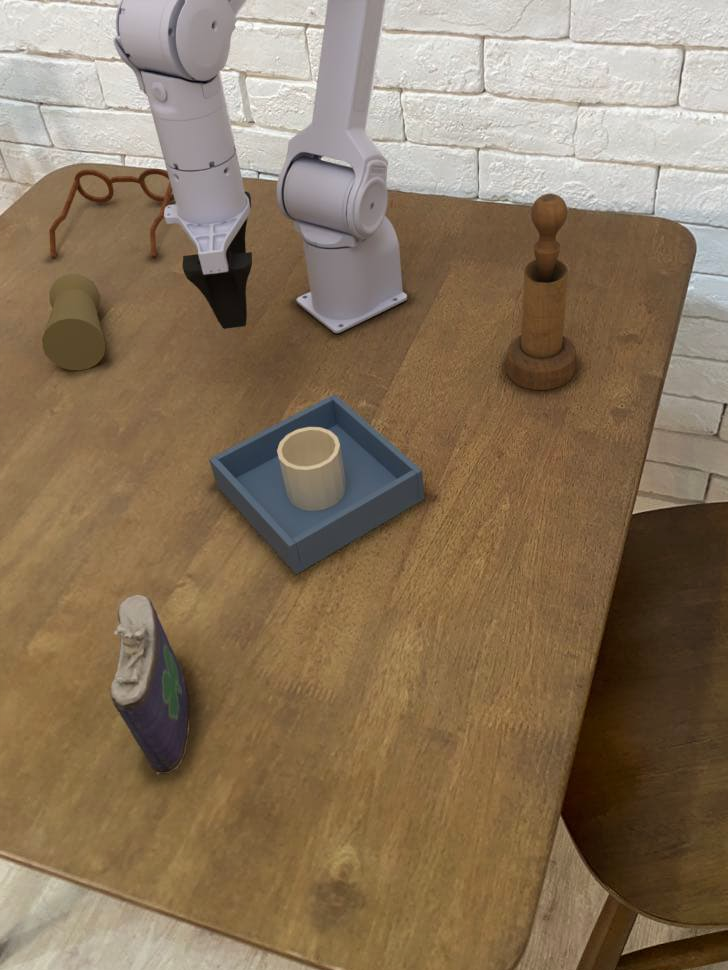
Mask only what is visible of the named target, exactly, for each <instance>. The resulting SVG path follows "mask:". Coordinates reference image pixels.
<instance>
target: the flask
mask: <svg viewBox="0 0 728 970" xmlns="http://www.w3.org/2000/svg"><path fill="white" fill-rule="evenodd" d="M117 618H118V625H117V627H116V629H115V630H114V631H113V634H114V635H115V636H117V635H119V634H120V637H119V642H120V643H119V653H118V662H117V667H116V672H115V674H114V678H113V680H112V681H111V683H110V684H111V685H110V691H109V694H110V698H111V700H112V703H113V705H114V707H115V708H116V711H117V712H118V713H119V715H120V718H122V720H123V721H124V723H125V725H126V727H127V728H128V729H129V730H130V733H131V735H132V737H133V738H134V740H135V742H136V744H137V745H138V746H139V748H140V749H141V751H142V753H143V754H144V757H145V758H146V759H147V761H148V764H149V767H150V768H151V769H152V770H153V771H154V772H156V775H157V776H158V775H160V774H169V773H172V772H173V771H176V770H177V769H178V768H179V766H180V765H181V764H182V762H183V758H184V756H185V754H186V751H187V743H188V739H189V731H190V725H191V724H190V717H191V716H190V715H191V714H190V711H189V700H188V697H189V696H188V688H187V684H186V678H185V675H184V671H183V668H182V666H181V665H180V663H179V661H178V659H177V656H176V654H175V651H174V649H173V648H172V646H171V644H170V641H169V638H168V636H167V635H166V632H165V629H164V627H163V624H162V623H161V621H160V618H159V616H158V613H157V611H156V609H155V607H154V603H153V602H152V600H151V599H150V598H149V597H148V596H146V595H141V594H133V595H131V596H128V597H126V598H125V599H124V600H122V601H120V604H119V606H118V610H117Z"/></svg>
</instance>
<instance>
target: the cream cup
mask: <svg viewBox="0 0 728 970" xmlns="http://www.w3.org/2000/svg"><path fill="white" fill-rule="evenodd" d="M277 453H278V458H279V462H280V466H281V471H282V475H283V480H284V484H285V488H286V493H287V497H288V499H289V501H290V502H291V503H292V504H293V505H294V506H295V507H297V508H299V509H302V510H306V511H320V510H324V509H327V508H330V507H332V506H334V505H335V504H337V503H338V502H339V501H340V500H341V499H342V498H343V496H344V494H345V491H346V479H345V473H344V467H343V460H342V454H341V448H340V443H339V440H338V437H337V436H336V435H335V434H334V433H332V432H331V431H329V430H327V429H324V428H321V427H306V428H301V429H297V430H295V431H293V432H291V433H289V434H287V435H286V436H285V437H284V438H283V439H282V440H281V441H280V443H279V446H278V449H277Z"/></svg>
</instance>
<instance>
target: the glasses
mask: <svg viewBox="0 0 728 970" xmlns="http://www.w3.org/2000/svg"><path fill="white" fill-rule="evenodd" d="M151 175H159V176H163V177H165V178H166V179H167V180H169V176H168V172H167V170H165V169H161V168H148V169H145V170H144V171H142V172H141V173H140V174H139V177H136V176H133V175H132V176H131V175H120V176H119V175H118V176H117V175H116V176H112V177H111V178H110V177H109V176H108V175H107V174H105V173H103V172H101V171H98V170H97V169H96V170H95V169H89V168H88V169H82V170H79V171H77V173H76V174H75V177H74V180H73V182H72V186H71V189H70V190H69V193H68V196H67V199H66V201H65V204H64V206H63V208H62V211H61V214H60V215H59V216H58V217H56V219H55V220H54V221H53V223H52V225H51V226H50V228H49V230H48V231H49V249H50V250H49V251H50V253H49V254H50V257H51V258H52V259H53V258H57V243H56V242H57V241H56V240H57V239H56V231H57V229H58V227H60V225H61V223H62V222H64V221H65V220H66V219H67V216H68V214H69V212H70V208H71V207H72V204H73V201H74V198H75V195H76V193H77V192H78V193H79V194H80V195H81V196H82V197H84V198H85V199H86V200H88V201H90V202H93V203H107V202H110V201H111V200H112V199H113V197H114V195H115V192H114V191H115V189H114V186H113V184H115V183H136V184H139V185H140V187H141V189H142V191H143V193H144V194H145V195H146V196H147V197H148V198H150V199H151V200H153V201H156V202H161V203H162V204H161V208H160V211H159V214H158V215H157V216H156V218H154V220H153V222H152V225H151V226H150V229H149V235H150V236H149V237H150V255H151V258H157V244H156V243H157V241H156V239H157V237H156V231H157V229H158V227H159V225H160V223H161V222H162V221H163V220H164V219H165V217H164V210H165V207H166V206H168V205H169V203H170V202H172V201H175V199H174V195H173V191H172V187H171V183H170V181H169V182H168V185H167V188H166V192H165V195H164V196H162V195H157V194H155V193H153V192H151V190H150V189H149V188H148V186H147V184H146V181H145V179H146V178H147V177H149V176H151ZM85 176H93V177H96V178H99V179H101V180H102V181H103V182H104V183H105V184H106V186H107V189H108V194H107V195H105V196H94V195H92V194H90V193H88V192H87V191H85V190H84V188H83V187H82V184H81V181H80V180H81V178H82V177H85Z"/></svg>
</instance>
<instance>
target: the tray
mask: <svg viewBox="0 0 728 970" xmlns="http://www.w3.org/2000/svg"><path fill="white" fill-rule="evenodd" d="M306 427H321V428H324V429H327V430H329V431H331V432H332V433H334V434H335V435H336V436H337V437H338V440H339V443H340V448H341V454H342V460H343V467H344V473H345V479H346V491H345V494H344V496H343V498H342V499H341V500H340V501H339V502H338V503H337V504H335V505H334V506H332V507H330V508H327V509H324V510H320V511H306V510H302V509H299V508H297V507H295V506H294V505H293V504H292V503H291V502H290V501H289V499H288V497H287V493H286V488H285V484H284V480H283V475H282V471H281V466H280V462H279V458H278V453H277V449H278V446H279V443H280V441H281V440H282V439H283V438H284V437H285V436H286V435H287V434H289V433H291V432H293V431H295V430H297V429H301V428H306ZM208 461H209V465H210V468H211V472H212V474H213V477H214V481H215V484H216V487H217V488H218V490H219V491H220V492H221V493H222V494H223V495H224V497H226V498H227V500H228V501H229V502H230V503H231V504H232V505H233V506H234V507H235V509H236V510H237V511H238V512H239V513H240V514H241V515H242V516H243V518H245V519H246V521H247V522H248V523H249V524H250V525H251V526H252V527H253V529H254V530H255V531H256V532H257V533H258V534H259V536H261V537H262V539H263V540H264V541H265V542H266V543H267V544H268V546H270V547H271V549H272V550H273V551H274V552H275V553H276V554H277V555H278V556H279V558H280V559H281V560H282V561H283V562H284V563H285V564H286V565H287V566H288V567H289V568H290V570H291V571H292V572H293V573H294V574H295V575H299V574H300V573H302V572H303V571H306V570H307V569H308V568H310V567H312V566H314V565H315V564H318V563H319V562H320V561H322V560H323V559H325V558H327V557H329V556H330V555H332V554H334V553H335V552H337V551H339V550H341V549H342V548H344V547H345V546H347V545H349V544H351V543H353V542H354V541H356V540H358V539H360V538H361V537H363V536H365V535H366V534H368V533H369V532H371V531H373V530H374V529H376V528H378V527H379V526H382V525H383V524H384V523H386V522H388V521H389V520H392V519H393V518H394V517H396V516H398V515H400V514H401V513H403V512H405V511H407V510H408V509H410V508H412V507H413V506H415V505H417V504H418V503H420V502H422V501H423V500H425V489H424V477H423V469H421V468H420V466H418V465H417V464H416V463H415V462H414V461H412V460H411V459H410V458H409V457H408V456H406V455H405V453H404V452H402V451H401V450H400V449H398V448H397V447H396V446H395V445H394V444H393V443H392V442H391V441H389V440H388V439H387V438H386V437H385V436H384V435H383V434H381V433H380V431H378V430H377V429H375V427H373V426H372V425H371V424H369V422H367V421H366V420H365V419H364V418H363V417H362V416H360V414H358V413H357V412H356V411H355V410H354V409H353V408H352V407H350V405H348V404H347V403H346V402H345V401H344V400H342V398H340V397H339V396H338V395H336V394H335V393H333V394H332V395H330V396H328V397H326V398H324V399H322V400H320V401H318V402H316V403H314V404H312V405H311V406H308V407H307V408H305V409H302V410H300V411H298V412H297V413H295V414H293V415H291V416H289V417H287V418H286V419H283V420H281V421H279V422H278V423H276V424H274V425H272V426H270V427H268V428H266V429H264V430H262V431H260V432H258V433H256V434H254V435H252V436H251V437H248V438H247V439H245V440H242V441H241V442H239V443H237V444H235V445H233V446H231V447H229V448H226V449H225V450H223V451H221V452H220V453H218V454H216V455H214V456H211V457H209V458H208Z"/></svg>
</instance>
